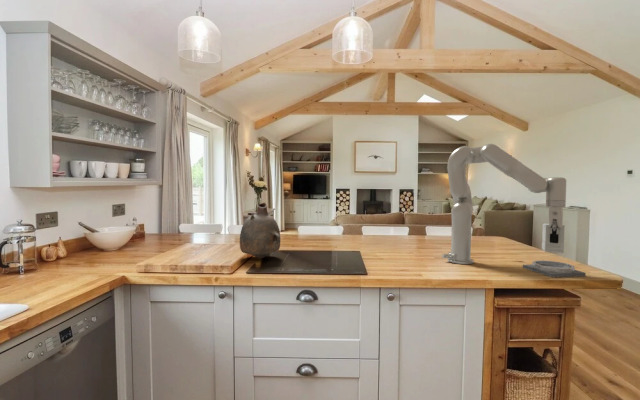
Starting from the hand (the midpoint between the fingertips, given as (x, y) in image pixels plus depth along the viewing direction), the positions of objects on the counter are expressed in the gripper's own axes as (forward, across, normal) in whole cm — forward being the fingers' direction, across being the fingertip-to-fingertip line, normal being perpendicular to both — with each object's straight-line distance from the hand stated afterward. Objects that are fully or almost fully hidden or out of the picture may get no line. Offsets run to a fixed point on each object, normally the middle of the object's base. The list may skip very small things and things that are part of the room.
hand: (554, 241), depth 155 cm
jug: (+14, -66, +127) cm, 143 cm away
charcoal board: (+14, 0, 0) cm, 14 cm away
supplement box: (+5, 0, +1) cm, 5 cm away
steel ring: (+13, 0, 0) cm, 13 cm away
